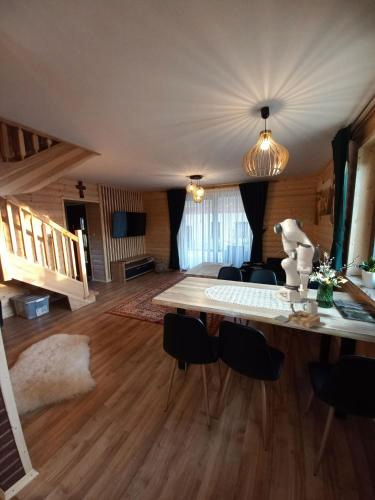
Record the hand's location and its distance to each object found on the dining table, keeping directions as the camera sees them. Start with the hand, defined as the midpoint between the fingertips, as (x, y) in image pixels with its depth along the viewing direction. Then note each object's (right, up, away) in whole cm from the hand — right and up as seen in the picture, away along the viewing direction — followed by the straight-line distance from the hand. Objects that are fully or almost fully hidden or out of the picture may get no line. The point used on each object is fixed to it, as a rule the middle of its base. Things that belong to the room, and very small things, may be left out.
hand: (303, 287), depth 138 cm
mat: (-11, -24, +6) cm, 27 cm away
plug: (0, -6, 0) cm, 6 cm away
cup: (+14, -22, +15) cm, 30 cm away
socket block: (+2, -24, +2) cm, 24 cm away
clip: (-3, -18, +7) cm, 20 cm away
